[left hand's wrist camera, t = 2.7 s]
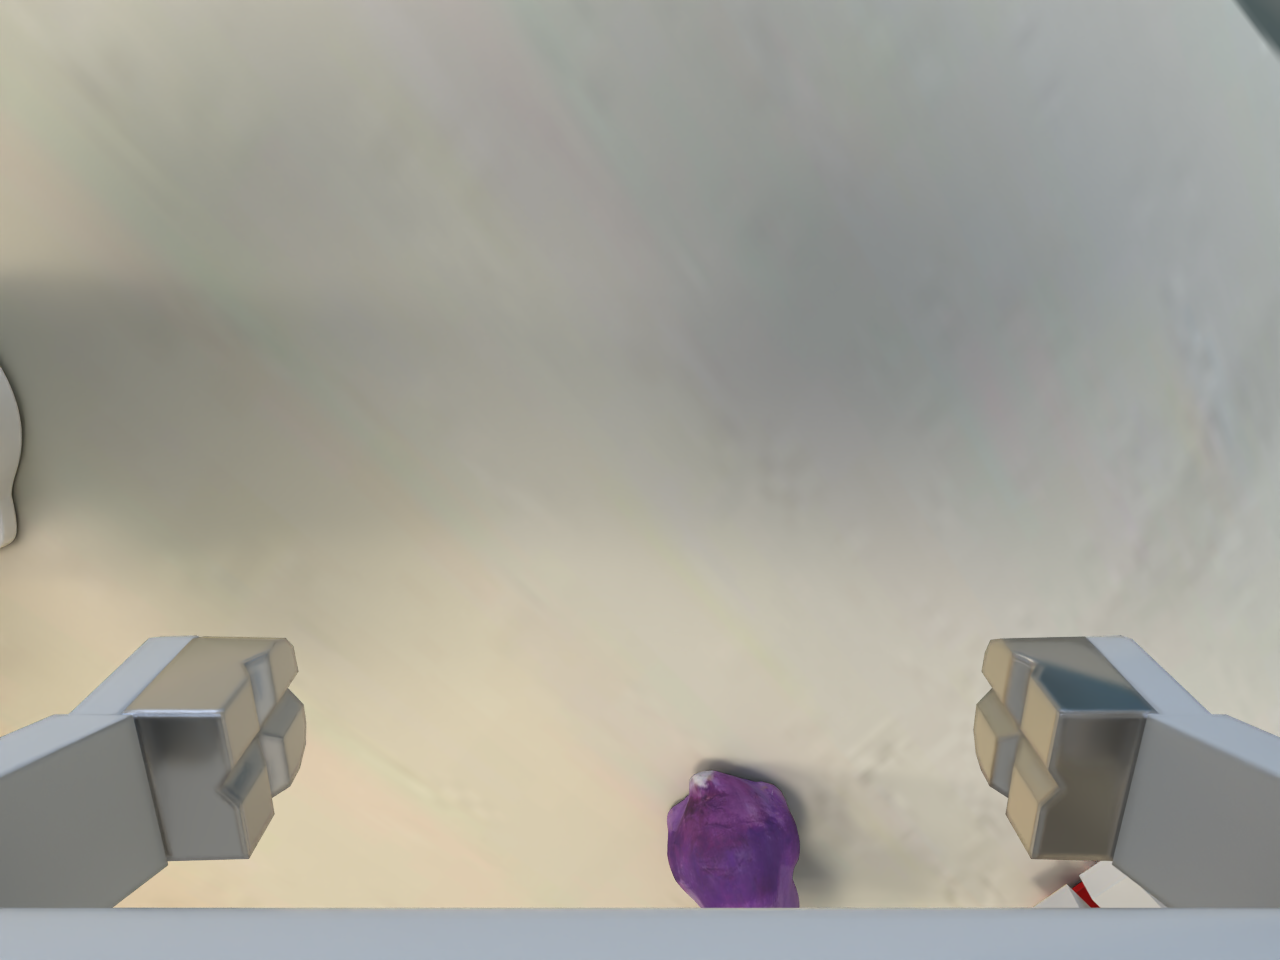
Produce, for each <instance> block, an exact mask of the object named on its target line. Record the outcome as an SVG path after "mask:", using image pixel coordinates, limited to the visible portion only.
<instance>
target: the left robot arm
mask: <svg viewBox="0 0 1280 960" xmlns="http://www.w3.org/2000/svg"><path fill="white" fill-rule="evenodd" d="M21 447H22V428H21V420H20V415H19V410H18V406H17V403H16V399H15V396H14V394H13V391H12V388H11V386H10V384H9V382H8V379H7V378H6V376H5V374H4V372H3V370H2V368H1V367H0V548H1V547H4V546H6V545H8V544H10V543H11V542H12V541H13V540H14V539H15V537H16V533H17V522H16V515H15V509H14V504H13V499H12V486H13V481H14V478H15V475H16V471H17V468H18V464H19V460H20V455H21ZM297 673H298V667H297V662H296V657H295V651H294V647H293V645H292V644H291V643H290V642H289V641H288V640H287V639H286V638H261V637H209V636H203V637H199V636H160V637H153V638H149V639H148V640H147V641H146V642H144V643H143V644H142V645H141V646H140V647H139V648H138V649H137V650H136V651H135V652H134V653H133V654H132V655H131V656H130V657H129V658H128V659H127V660H125V661H124V662H123V663H122V664H121V665H120V666H119V667H118V668H117V669H116V670H115V671H114V672H113V673H112V674H111V675H110V676H109V677H107V678H106V679H105V680H104V681H103V682H102V683H101V684H100V685H99V686H98V687H97V688H96V689H95V690H94V691H93V692H92V693H91V694H90V695H88V696H87V697H86V698H85V699H84V700H83V701H82V702H81V703H80V704H79V705H78V706H77V707H76V708H75V709H74V710H73V711H72V712H70V713H69V714H68V715H52V716H49V717H47V718H45V719H42V720H40V721H38V722H35V723H33V724H31V725H28V726H26V727H23V728H21V729H19V730H16V731H14V732H12V733H9V734H7V735H5V736H2V737H0V960H1280V737H1278V736H1275V735H1273V734H1271V733H1268V732H1266V731H1264V730H1261V729H1259V728H1256V727H1254V726H1252V725H1249V724H1247V723H1245V722H1242V721H1240V720H1238V719H1235V718H1233V717H1231V716H1228V715H1212V714H1211V713H1210V712H1209V711H1207V710H1206V709H1205V708H1204V707H1203V706H1202V705H1201V704H1200V703H1199V702H1198V701H1197V700H1196V699H1195V698H1194V697H1193V696H1192V695H1191V694H1190V693H1189V692H1187V691H1186V690H1185V689H1184V688H1183V687H1182V686H1181V685H1180V684H1179V683H1178V682H1177V681H1176V680H1175V679H1174V678H1173V677H1172V676H1171V675H1170V674H1168V673H1167V672H1166V671H1165V670H1164V669H1163V668H1162V667H1161V666H1160V665H1159V664H1158V663H1157V662H1156V661H1155V660H1154V659H1153V658H1152V657H1151V656H1150V655H1148V654H1147V653H1146V652H1145V651H1144V650H1143V649H1142V648H1141V647H1140V646H1139V645H1138V644H1137V643H1136V642H1135V641H1134V640H1133V639H1130V638H1127V637H1124V636H1121V635H1116V636H1092V637H1047V638H1006V639H994V640H990V642H989V645H988V647H987V649H986V651H985V655H984V660H983V666H982V673H983V674H984V676H985V678H986V679H987V681H988V682H989V684H990V685H991V687H992V689H991V690H990V691H989V692H988V693H987V694H986V695H985V696H984V697H983V698H982V699H981V700H980V701H979V702H978V703H977V704H976V712H975V720H974V729H973V730H974V740H975V750H976V755H977V759H978V762H979V765H980V768H981V771H982V773H983V775H984V776H985V778H986V780H987V782H988V784H989V786H990V787H992V788H993V789H995V790H997V791H998V792H1000V793H1001V794H1003V795H1004V796H1006V797H1007V798H1008V802H1007V808H1006V816H1007V818H1008V819H1009V821H1010V823H1011V825H1012V826H1013V828H1014V830H1015V832H1016V833H1017V835H1018V837H1019V838H1020V840H1021V842H1022V844H1023V845H1024V847H1025V849H1026V851H1027V852H1028V854H1029V856H1030V858H1031V859H1054V860H1090V861H1113V862H1112V865H1113V866H1114V867H1116V868H1117V869H1118V870H1119V871H1121V872H1122V873H1123V874H1125V875H1126V876H1127V877H1129V878H1130V879H1131V880H1132V881H1134V882H1135V883H1136V884H1138V885H1139V886H1140V887H1142V888H1143V889H1144V890H1145V891H1147V892H1148V893H1149V894H1151V895H1152V896H1153V897H1155V898H1156V899H1157V900H1159V901H1160V902H1161V903H1162V904H1164V905H1165V906H1166V907H1168V908H113V907H114V906H115V905H117V904H118V903H119V902H120V901H122V900H123V899H124V898H126V897H127V896H128V895H130V894H131V893H132V892H134V891H135V890H136V889H137V888H139V887H140V886H141V885H143V884H144V883H145V882H147V881H148V880H149V879H150V878H152V877H153V876H154V875H156V874H157V873H158V872H160V871H161V870H162V869H164V868H165V867H166V866H167V865H168V862H167V861H189V860H224V859H249V858H250V856H251V854H252V853H253V851H254V849H255V847H256V846H257V844H258V842H259V840H260V839H261V837H262V835H263V833H264V832H265V830H266V828H267V826H268V825H269V823H270V821H271V819H272V818H273V816H274V808H273V802H272V798H273V797H274V796H276V795H277V794H279V793H280V792H282V791H283V790H285V789H287V788H288V787H290V786H291V784H292V782H293V780H294V778H295V776H296V774H297V773H298V771H299V769H300V766H301V761H302V757H303V753H304V749H305V745H306V718H305V711H304V704H303V703H302V702H301V701H300V700H299V699H298V698H297V697H296V696H295V695H294V694H293V693H292V692H291V691H290V690H289V689H288V687H289V685H290V684H291V682H292V681H293V679H294V678H295V676H296V674H297Z"/></svg>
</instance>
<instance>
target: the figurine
mask: <svg viewBox="0 0 1280 960" xmlns="http://www.w3.org/2000/svg"><path fill="white" fill-rule="evenodd" d="M667 826H668V852H667V855H668V861H669V865H670V868H671V871H672V873H673V876H674V878H675V880H676V882H677V883H678V884H679V885H680V886H681V888H682V889H683V890H684V891H685V892H686V893H687V894H688V895H689V896H690V897H691V898H692V899H694V900H695V902H696V903H697V904H698V905H699V906H700V907H701V908H799V897H798V893H797V890H796V887H795V884H794V881H793V879H792V876H793V870H794V867H795V865H796V863H797V861H798V859H799V854H800V841H799V835H798V831H797V827H796V824H795V821H794V819H793V817H792V815H791V813H790V811H789V809H788V807H787V803H786V800H785V798H784V796H783V794H782V792H781V790H779V789H778V788H777V787H776V786H775V785H774V784H770V783H766V782H762V781H760V782H754V781H750V780H746V779H743V778H739V777H736V776H732V775H728V774H725V773H721V772H718V771H713V770H710V771H702V772H699V773H696V774H694V775H693V776H692V777H691V779H690V780H689V795H688V796H687V797H686V798H685V799H684V800H682V801H681V802H680V803H678V804H677V805H675V806H674V807H672V809H671V810H670V811H669V813H668V816H667Z"/></svg>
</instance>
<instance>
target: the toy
mask: <svg viewBox="0 0 1280 960" xmlns="http://www.w3.org/2000/svg"><path fill="white" fill-rule="evenodd" d="M1112 862H1113V861H1100V862H1098V863H1097V864H1095V865H1094V866H1092V867H1091V868H1089V869H1088V870H1086V871H1085V872H1083V873H1082V874H1080V875H1079V876H1080V878H1081V880H1082V882H1080V883H1079V884H1078V885H1076V886H1075V887H1073V888H1072V889H1071V888H1070V887H1069V886H1068V885H1067V884H1066V885H1064V886H1063V887H1061V888H1060V889H1058V890H1057V891H1055V892H1054V893H1052V894H1051V895H1050V896H1048V897H1047V898H1045V899H1044V900H1042V901H1041V902H1039V903H1038V904H1036V905H1035V906H1033V908H1168V907H1166V906H1165V905H1164V904H1162V903H1161V902H1160V901H1159V900H1157V899H1156V898H1155V897H1153V896H1152V895H1151V894H1149V893H1148V892H1147V891H1145V890H1144V889H1143V888H1142V887H1140V886H1139V885H1138V884H1136V883H1135V882H1134V881H1132V880H1131V879H1130V878H1129V877H1127V876H1126V875H1125V874H1123V873H1122V872H1121V871H1119V870H1118V869H1117V868H1116V867H1114V866H1113V865H1112Z"/></svg>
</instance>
